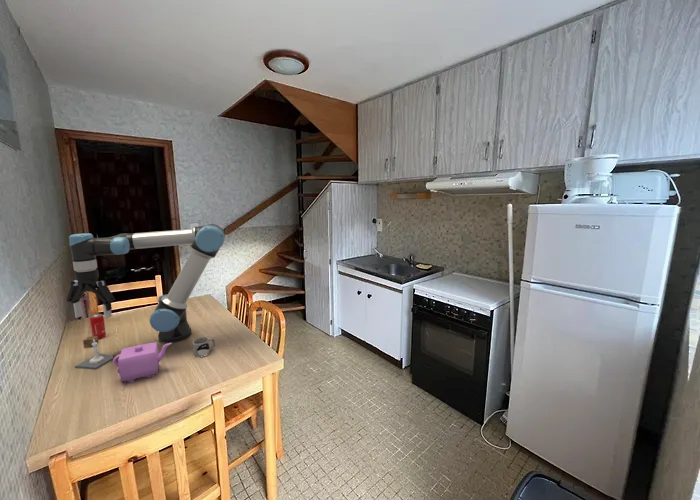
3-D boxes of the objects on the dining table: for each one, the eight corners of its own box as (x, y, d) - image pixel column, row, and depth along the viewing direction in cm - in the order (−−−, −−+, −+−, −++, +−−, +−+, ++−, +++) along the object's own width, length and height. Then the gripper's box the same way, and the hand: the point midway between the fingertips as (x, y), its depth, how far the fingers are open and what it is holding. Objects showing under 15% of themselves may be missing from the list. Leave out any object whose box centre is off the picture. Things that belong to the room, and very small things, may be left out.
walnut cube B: (129, 360, 131) (128, 351, 130) (119, 364, 127) (118, 356, 126) (123, 358, 132) (122, 350, 132) (113, 362, 129) (112, 354, 128)
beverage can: (98, 340, 149) (95, 318, 147) (90, 339, 150) (87, 317, 148) (108, 335, 154) (105, 314, 152) (100, 334, 155) (97, 313, 153)
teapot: (113, 387, 112) (109, 357, 109) (117, 374, 120) (114, 345, 118) (174, 372, 121) (171, 344, 119) (174, 361, 130) (171, 334, 128)
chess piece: (102, 356, 132) (99, 335, 130) (105, 360, 129) (102, 338, 127) (88, 360, 128) (85, 339, 127) (90, 364, 125) (87, 343, 124)
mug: (198, 359, 132) (196, 345, 131) (191, 354, 136) (189, 341, 135) (219, 350, 140) (218, 337, 139) (212, 346, 144) (211, 333, 143)
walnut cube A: (98, 343, 146) (97, 335, 145) (93, 347, 142) (92, 339, 141) (89, 344, 145) (87, 336, 144) (84, 348, 141) (82, 340, 140)
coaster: (117, 357, 133) (117, 355, 133) (96, 369, 123) (95, 367, 123) (97, 355, 134) (97, 353, 134) (75, 367, 124) (74, 365, 124)
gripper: (121, 268, 127) (127, 314, 131) (68, 267, 129) (76, 313, 133) (105, 272, 120) (112, 321, 123) (49, 271, 122) (58, 319, 125)
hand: (93, 317), depth 128 cm, fingers open, 13 cm apart
